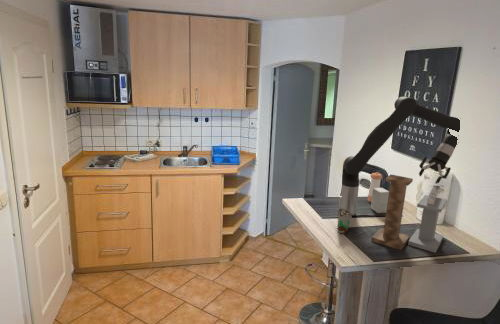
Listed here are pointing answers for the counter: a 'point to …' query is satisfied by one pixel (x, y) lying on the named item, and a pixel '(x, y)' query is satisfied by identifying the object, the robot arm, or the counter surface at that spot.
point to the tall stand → (394, 214)
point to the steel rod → (433, 195)
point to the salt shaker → (374, 184)
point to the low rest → (428, 226)
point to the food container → (343, 220)
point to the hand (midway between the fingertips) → (427, 179)
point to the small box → (379, 200)
